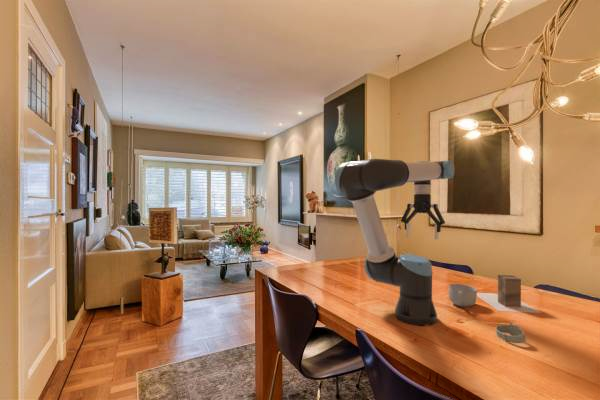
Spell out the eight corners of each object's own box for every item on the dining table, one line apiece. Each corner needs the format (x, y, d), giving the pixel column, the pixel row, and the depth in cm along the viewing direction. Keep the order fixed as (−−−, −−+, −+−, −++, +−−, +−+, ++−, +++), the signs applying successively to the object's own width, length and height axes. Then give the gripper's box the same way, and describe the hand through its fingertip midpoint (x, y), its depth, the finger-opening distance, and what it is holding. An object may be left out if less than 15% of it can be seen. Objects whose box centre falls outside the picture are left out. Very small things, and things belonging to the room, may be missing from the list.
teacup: (453, 299, 138) (453, 281, 138) (480, 305, 131) (480, 286, 130) (442, 306, 128) (442, 287, 128) (470, 313, 121) (470, 293, 121)
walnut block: (520, 307, 126) (520, 278, 126) (505, 307, 126) (505, 278, 126) (512, 302, 132) (512, 275, 132) (497, 302, 132) (497, 274, 132)
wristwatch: (531, 345, 95) (531, 329, 95) (514, 347, 93) (514, 331, 93) (505, 332, 104) (505, 318, 104) (490, 334, 102) (490, 319, 102)
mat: (542, 314, 120) (542, 312, 120) (498, 312, 122) (498, 310, 122) (508, 295, 144) (508, 293, 144) (472, 293, 146) (472, 292, 146)
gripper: (452, 193, 140) (452, 239, 140) (400, 194, 157) (400, 235, 157) (447, 193, 134) (446, 240, 134) (394, 193, 151) (393, 236, 151)
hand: (421, 237), depth 145 cm, fingers open, 13 cm apart
